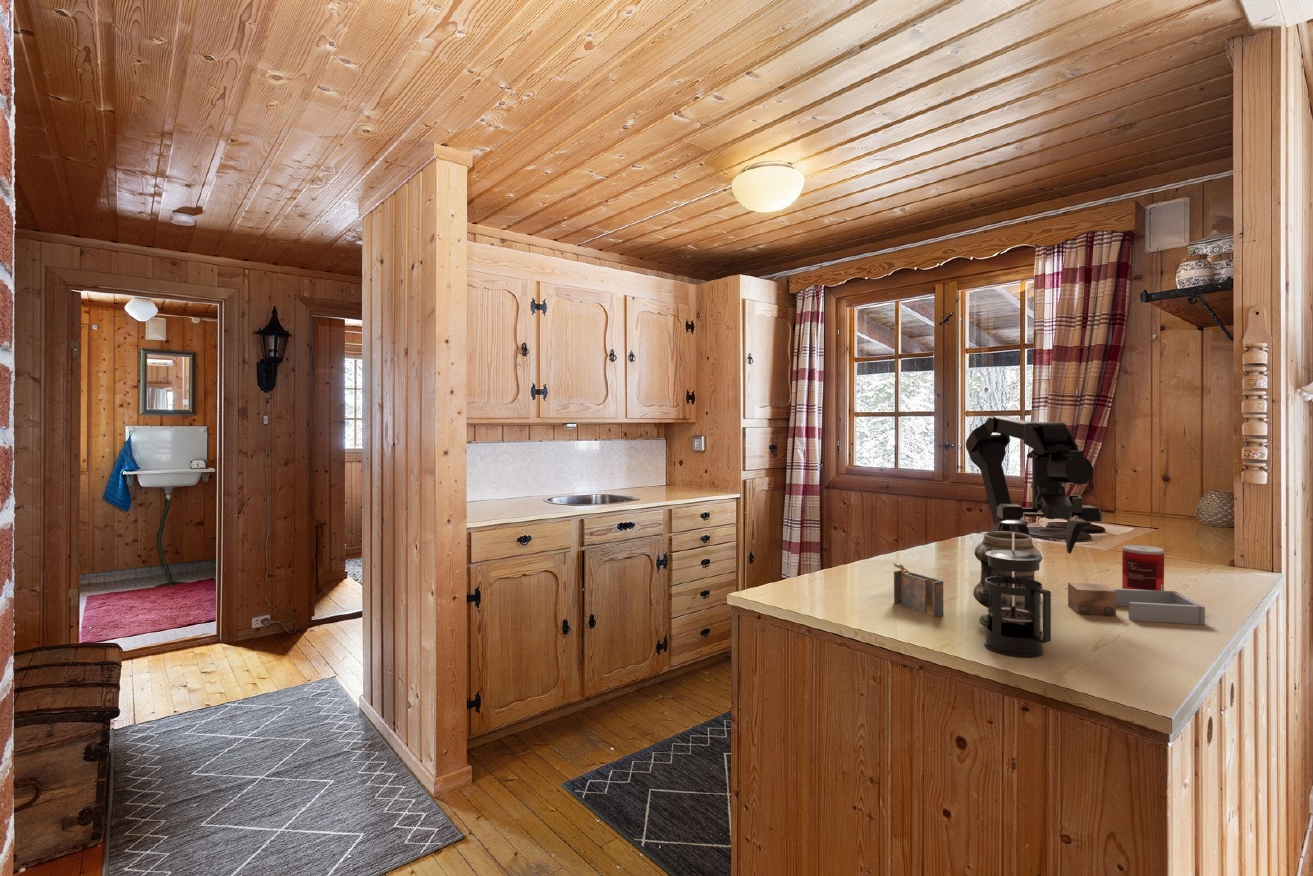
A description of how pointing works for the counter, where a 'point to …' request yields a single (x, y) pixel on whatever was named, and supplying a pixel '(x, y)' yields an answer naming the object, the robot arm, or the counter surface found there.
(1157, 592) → the dock
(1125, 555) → the canned food
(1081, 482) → the robot arm
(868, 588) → the counter surface
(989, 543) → the apothecary jar
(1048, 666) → the counter surface
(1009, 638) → the french press
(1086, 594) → the brown toy brick
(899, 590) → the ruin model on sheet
